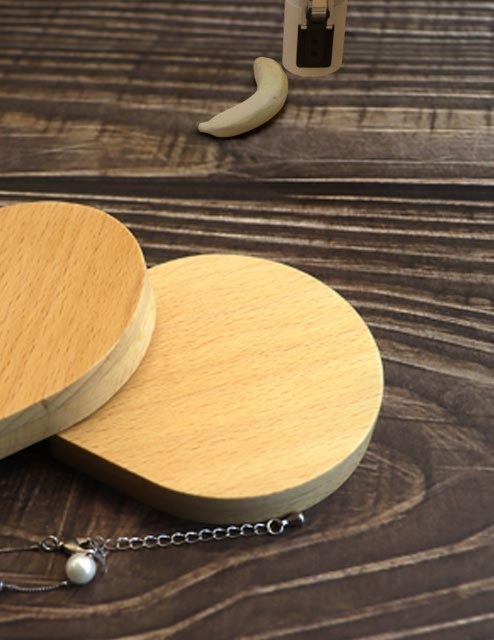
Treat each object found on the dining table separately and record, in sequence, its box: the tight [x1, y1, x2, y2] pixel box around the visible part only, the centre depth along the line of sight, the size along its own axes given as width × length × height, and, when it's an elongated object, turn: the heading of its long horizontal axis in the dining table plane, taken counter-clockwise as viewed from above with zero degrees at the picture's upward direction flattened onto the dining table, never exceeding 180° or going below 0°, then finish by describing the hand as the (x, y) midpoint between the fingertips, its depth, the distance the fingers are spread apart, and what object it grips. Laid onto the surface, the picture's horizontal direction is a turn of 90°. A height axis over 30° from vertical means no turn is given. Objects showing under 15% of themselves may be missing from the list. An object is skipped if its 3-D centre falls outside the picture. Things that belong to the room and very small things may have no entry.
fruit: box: [198, 56, 289, 138], centre depth 119 cm, size 7×15×3 cm, turn 147°
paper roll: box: [281, 0, 349, 78], centre depth 94 cm, size 6×6×7 cm
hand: (313, 47), depth 96 cm, fingers closed on paper roll, 5 cm apart
